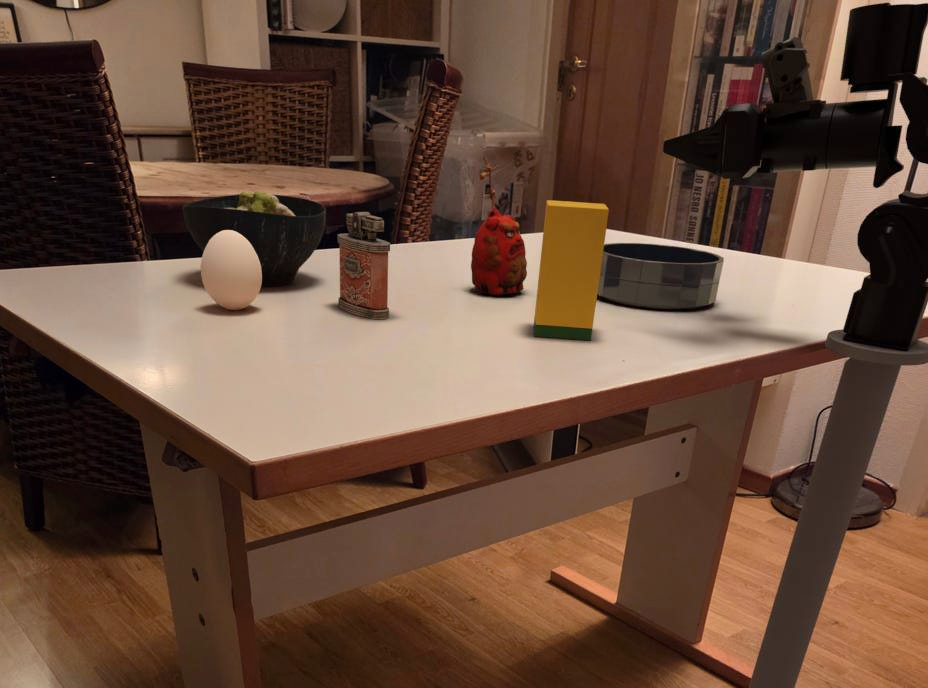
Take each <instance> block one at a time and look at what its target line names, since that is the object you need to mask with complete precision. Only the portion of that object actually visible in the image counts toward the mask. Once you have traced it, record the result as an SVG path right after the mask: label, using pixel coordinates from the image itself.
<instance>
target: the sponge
mask: <svg viewBox="0 0 928 688" xmlns="http://www.w3.org/2000/svg"><path fill="white" fill-rule="evenodd" d="M609 213H610V209H609V208H608V206H607V205H606V204H605V203H598V202H597V203H595V202H581V201H566V200H552V199H551V200H550V199H546V203H545V213H544V222H543V233H542V241H541V249H540V250H541V252H540V259H539V270H538V280H537V289H536V300H535V309H534V319H533V337H536V338H537V337H538V338H549V339H552V338H554V339H564V340H565V339H566V340H576V341H577V340H578V341H592V335H593V328H594V320H595V313H596V306H597V299H598V294H597V292H598V285H599V278H600V271H601V263H602V256H603V249H604V244H605V243H606V242H605V241H606V233H607V226H608V220H609Z"/></svg>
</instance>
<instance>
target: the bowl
mask: <svg viewBox="0 0 928 688" xmlns="http://www.w3.org/2000/svg"><path fill="white" fill-rule="evenodd" d="M181 209H182V214H183V219H184V220H183V221H184V224H185V226H186V227H187V231H188V232H189V234H190V236H191V238H192V240H193V241H194V242H195V244H196V245H197V246H198V248H199V249H200V250H201V251H202V252H203V253H204V250H205V247H206V246H207V244H208V242H209V240H210V239H211V238H212V237H213V236H214V235H215V234H217V233H219V232H221V231H223V230H233V231H236V232H238V233H239V234H241V235H242V236H244V237H245V238H246V239H247V240H248V241H249V242H250V244H251V245H252V247H253V248H254V250H255V252H256V254H257V256H258V258H259V261H260V265H261V271H262V284H261V287H277V286H285V285H289V284H292V283H293V282H294V281H295V278H296V277H297V274H298V272H299V269H300V268H301V267H302V266H303V265H304V264H305V263H306V262H307V261H308V260H309V259H310V258H311V256H312V255H313V254H314V252H315V251H316V249H317V248H318V246H319V245H320V244H321V240H322V238H323V235H324V233H325V229H326V225H327V224H326V223H327V208H326V206H324V205H323V204H321V203H319V202H317V201H314V200H311V199H307V198H303V197H294V196H290V195H284V194H283V195H281V194H272V193H269V192H260V191H259V192H257V191H256V192H253V193H247V192H245V191H242V192H240V193H239V194H229V195H222V196H221V195H220V196H215V197H210V198H209V197H208V198H204V199H199V200H196V201H192V202H188V203H186V204H184V205H182V207H181Z"/></svg>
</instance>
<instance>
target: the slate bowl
mask: <svg viewBox="0 0 928 688" xmlns="http://www.w3.org/2000/svg"><path fill="white" fill-rule="evenodd" d="M724 261H725V257H723V256H722V255H719V254H717V253H713V252H710V251H706V250H701V249H696V248H690V247H685V246H684V247H683V246H677V245H668V244H660V243H659V244H657V243H643V242H642V243H641V242H612V243H604V249H603V256H602V263H601V271H600V278H599V285H598V292H597V296H599V297H600V298H602V299H603V300H606V301H609V302H612V303H615V304H620V305H623V306H629V307H634V308H641V309H642V308H643V309H650V310H651V309H652V310H663V311H666V310H667V311H668V310H669V311H687V310H695V309H699V308H703V307H704V306H708V305H711V304H713V303H716V299H717V295H718V290H719V285H720V281H721V276H722V271H723V266H724Z"/></svg>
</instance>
